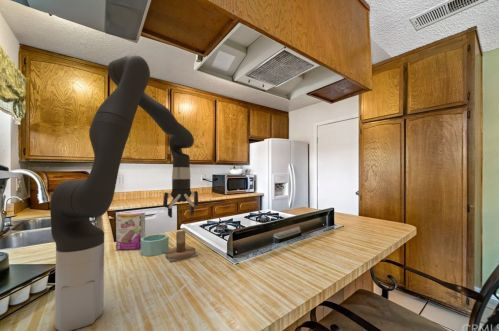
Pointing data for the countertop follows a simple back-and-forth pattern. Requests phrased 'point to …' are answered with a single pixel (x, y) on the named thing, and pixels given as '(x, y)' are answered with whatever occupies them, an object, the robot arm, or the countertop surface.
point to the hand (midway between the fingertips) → (181, 216)
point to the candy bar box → (130, 230)
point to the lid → (180, 248)
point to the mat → (182, 259)
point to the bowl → (154, 244)
